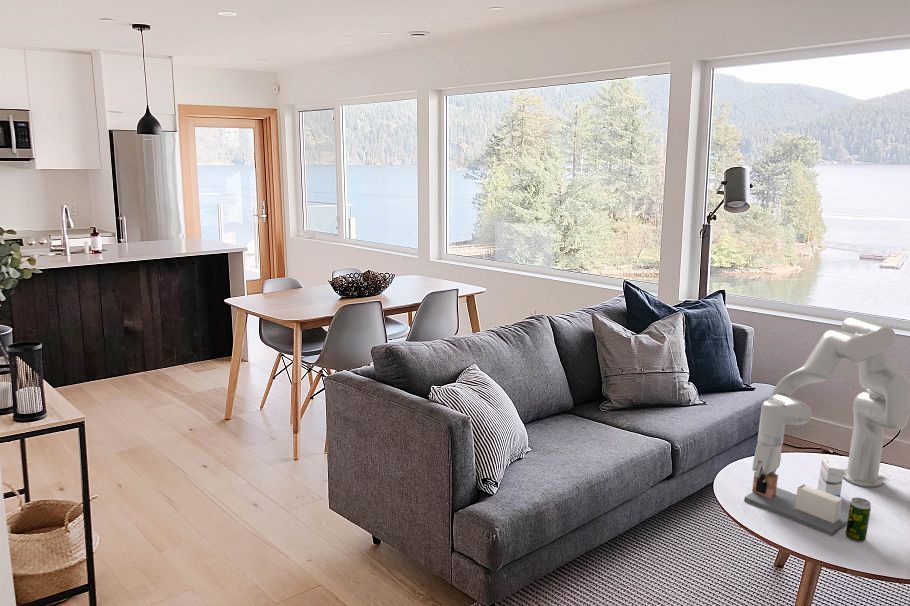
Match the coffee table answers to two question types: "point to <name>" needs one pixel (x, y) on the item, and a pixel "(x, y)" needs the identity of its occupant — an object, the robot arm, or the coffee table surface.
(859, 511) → the beer can
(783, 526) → the coffee table surface
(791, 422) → the robot arm
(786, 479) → the coffee table surface
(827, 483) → the ink box
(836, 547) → the coffee table surface
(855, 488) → the coffee table surface
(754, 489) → the stub
